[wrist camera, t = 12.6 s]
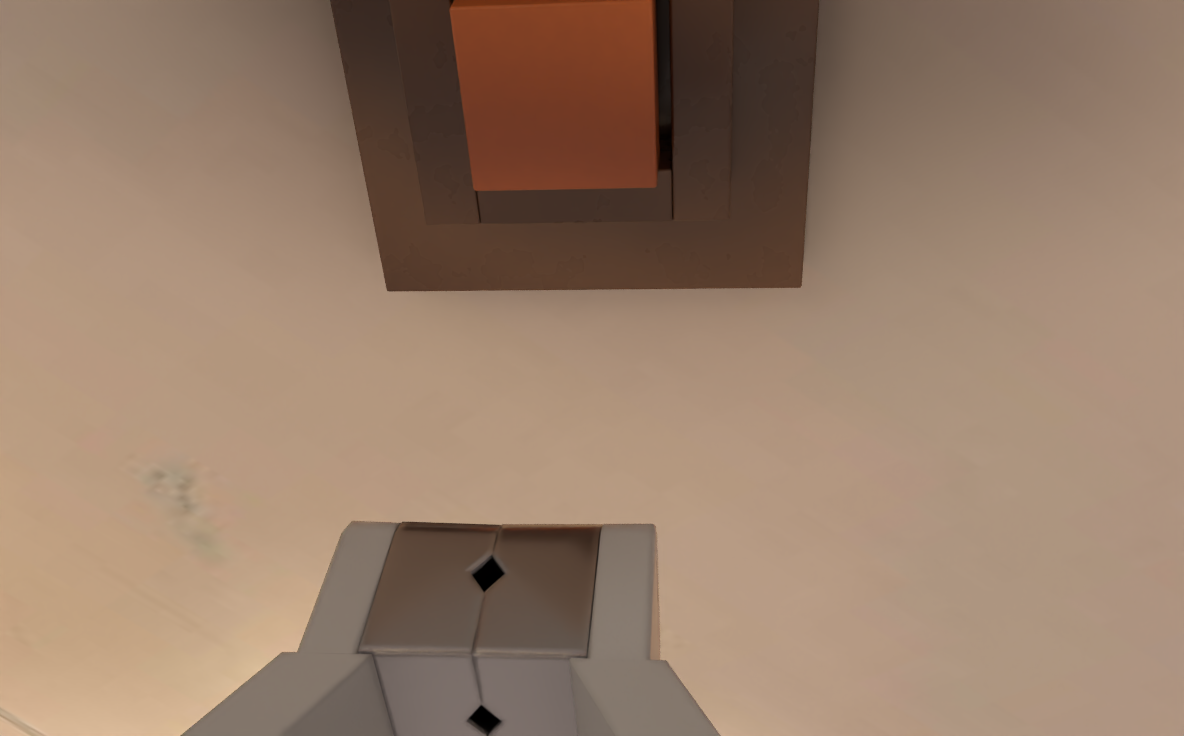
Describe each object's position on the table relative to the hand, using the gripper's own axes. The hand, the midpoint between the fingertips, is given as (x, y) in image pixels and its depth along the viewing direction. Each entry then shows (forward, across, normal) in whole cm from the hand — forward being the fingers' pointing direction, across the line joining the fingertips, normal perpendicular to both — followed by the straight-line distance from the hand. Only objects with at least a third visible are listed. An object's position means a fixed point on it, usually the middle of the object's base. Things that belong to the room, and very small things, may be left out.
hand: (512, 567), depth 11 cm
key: (+13, +1, 0) cm, 13 cm away
